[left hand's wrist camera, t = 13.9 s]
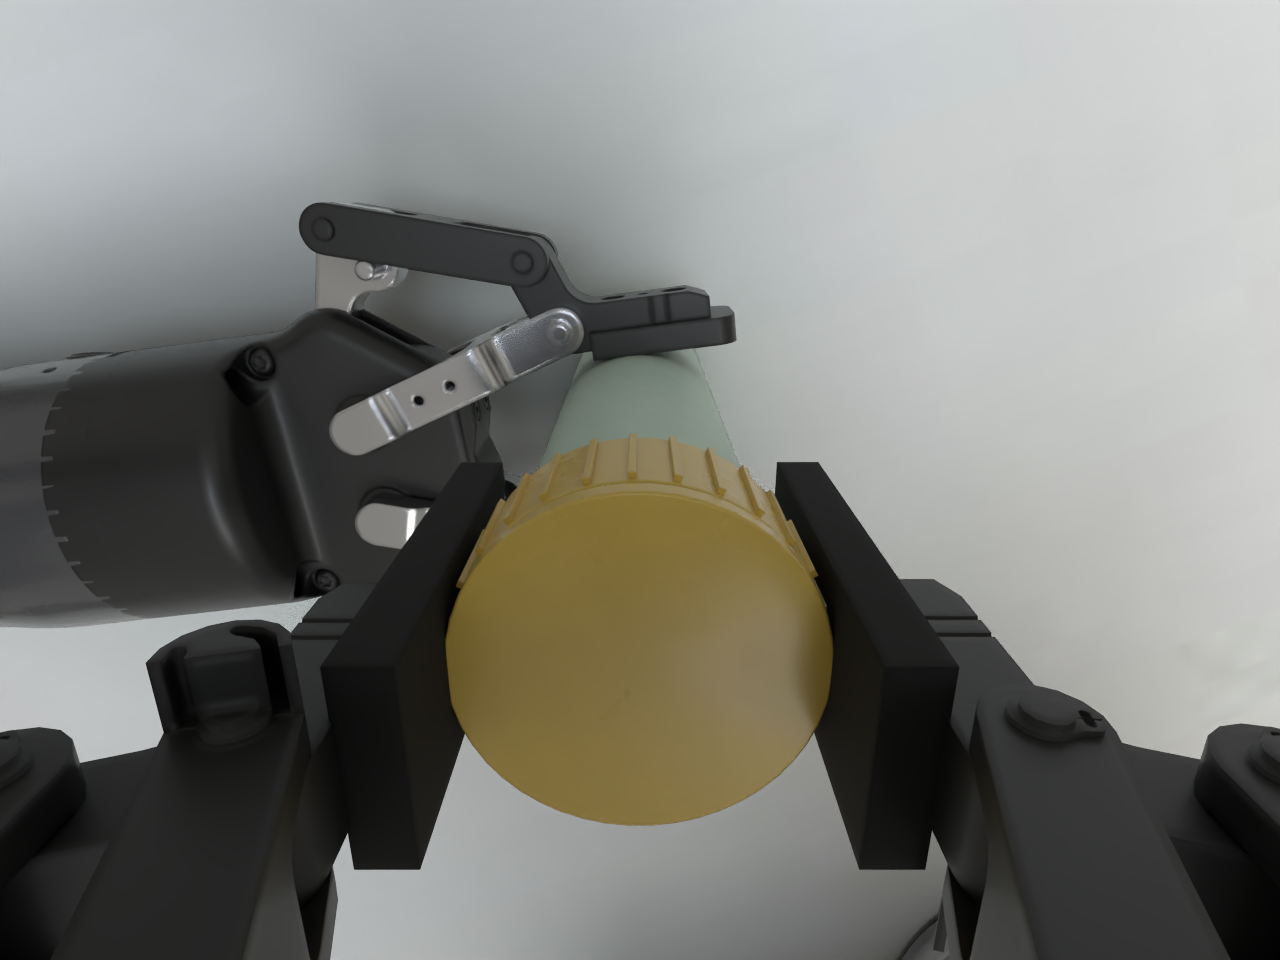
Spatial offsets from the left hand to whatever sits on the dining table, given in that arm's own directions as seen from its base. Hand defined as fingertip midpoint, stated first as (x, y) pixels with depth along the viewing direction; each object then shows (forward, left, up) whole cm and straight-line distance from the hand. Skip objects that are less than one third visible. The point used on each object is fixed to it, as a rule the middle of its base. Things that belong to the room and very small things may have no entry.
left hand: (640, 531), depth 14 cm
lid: (0, 0, +4) cm, 4 cm away
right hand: (-3, 0, -7) cm, 8 cm away
